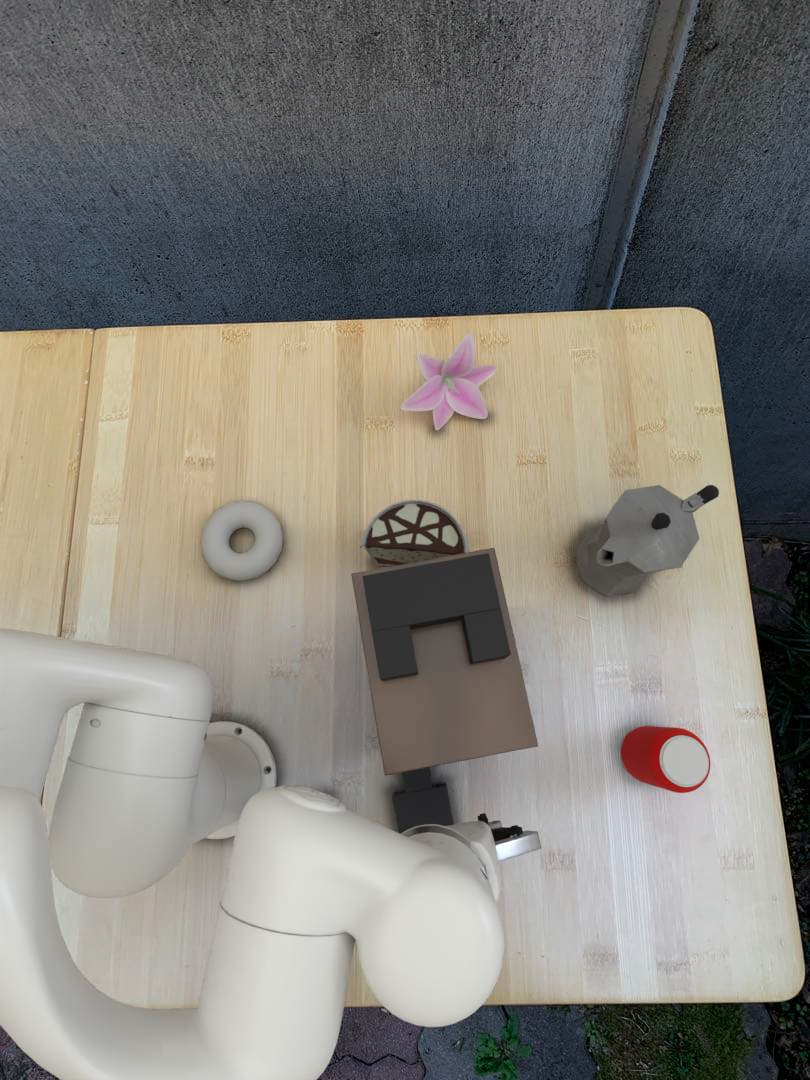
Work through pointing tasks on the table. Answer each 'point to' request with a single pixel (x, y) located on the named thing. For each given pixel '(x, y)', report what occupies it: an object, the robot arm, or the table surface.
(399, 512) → the chocolate cake
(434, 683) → the walnut stand
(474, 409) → the lily
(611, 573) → the coffeepot
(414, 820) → the charcoal pad
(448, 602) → the black pad
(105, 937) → the table surface
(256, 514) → the donut
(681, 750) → the beverage can
